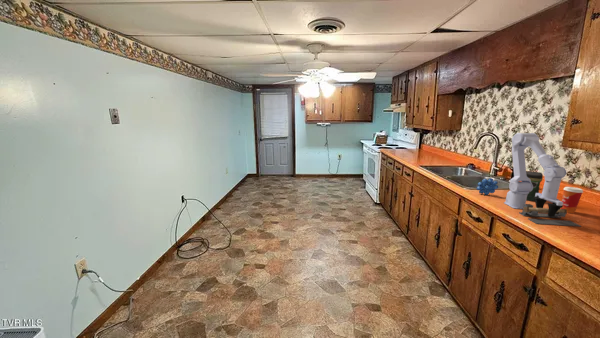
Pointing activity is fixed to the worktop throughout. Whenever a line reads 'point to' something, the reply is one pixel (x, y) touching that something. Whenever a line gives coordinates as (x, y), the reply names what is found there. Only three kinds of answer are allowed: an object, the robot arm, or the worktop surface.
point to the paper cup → (571, 198)
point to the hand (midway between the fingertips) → (544, 213)
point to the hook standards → (536, 214)
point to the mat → (554, 222)
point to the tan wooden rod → (542, 210)
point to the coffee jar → (534, 183)
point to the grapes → (487, 186)
